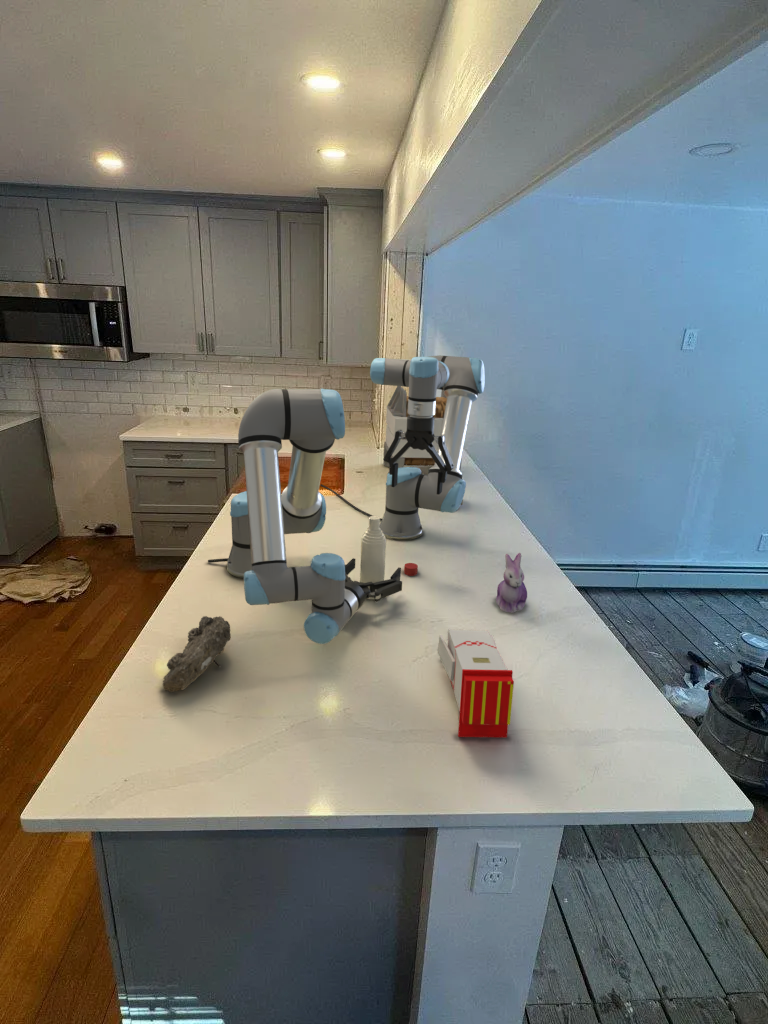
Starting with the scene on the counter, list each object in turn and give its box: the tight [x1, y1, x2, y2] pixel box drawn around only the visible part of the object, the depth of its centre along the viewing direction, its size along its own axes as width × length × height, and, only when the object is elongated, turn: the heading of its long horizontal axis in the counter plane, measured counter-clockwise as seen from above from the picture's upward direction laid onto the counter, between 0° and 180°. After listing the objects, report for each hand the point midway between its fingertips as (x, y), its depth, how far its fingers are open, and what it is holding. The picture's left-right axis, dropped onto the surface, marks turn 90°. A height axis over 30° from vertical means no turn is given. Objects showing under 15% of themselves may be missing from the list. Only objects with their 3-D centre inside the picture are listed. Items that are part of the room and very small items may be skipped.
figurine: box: [495, 552, 528, 614], centre depth 152 cm, size 9×10×15 cm
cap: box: [403, 562, 419, 577], centre depth 170 cm, size 4×4×2 cm
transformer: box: [383, 386, 463, 473], centre depth 268 cm, size 34×33×41 cm
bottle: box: [359, 515, 387, 600], centre depth 154 cm, size 7×7×23 cm
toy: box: [437, 628, 515, 738], centre depth 117 cm, size 12×13×30 cm
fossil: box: [162, 615, 232, 693], centre depth 122 cm, size 22×10×15 cm
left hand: (376, 567), depth 158 cm, fingers open, 13 cm apart
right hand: (416, 489), depth 162 cm, fingers open, 13 cm apart
